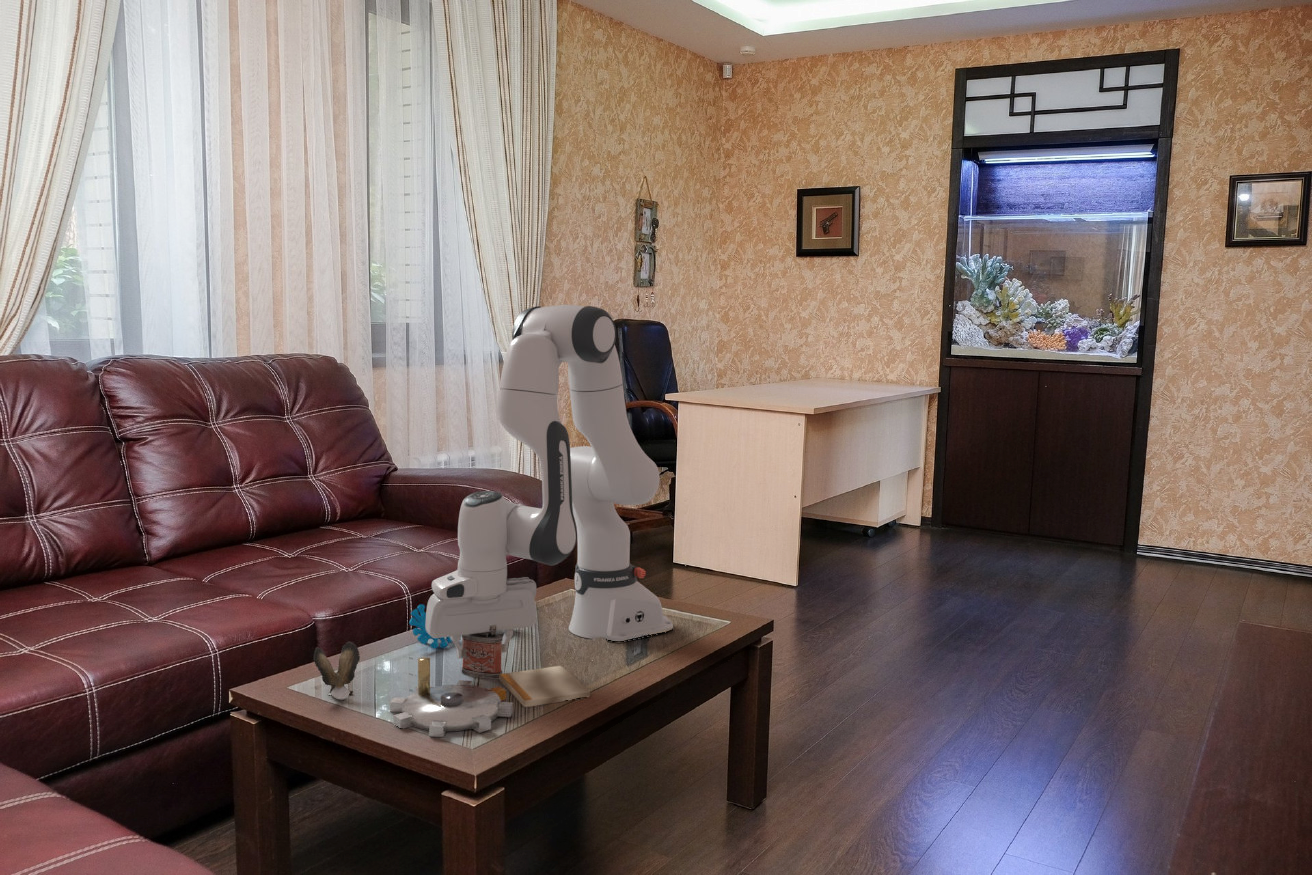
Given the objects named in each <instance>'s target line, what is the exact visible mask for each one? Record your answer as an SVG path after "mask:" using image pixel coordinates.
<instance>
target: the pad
mask: <svg viewBox="0 0 1312 875" xmlns="http://www.w3.org/2000/svg"><path fill="white" fill-rule="evenodd" d="M498 680H499V682H500V683H501V684H502V685H503V686H504V687H505V688H506V689H507V691H509V692H510V693H511V694H512V695H513V696H514V698H515V699H516V700H517V701H518V702H519V703H520V705H522V706H523V707H524V708H529V707H536V706H542V705H548V704H554V703H555V704H556V703H561V702H562V703H563V702H566V701H565V700H568V701H572V699H575V698H579V697H587V696H590V697H591V691H590V690H589V689H588V688H587V687H586V686H584V685H583V684H582V683H581V682H580V681H579V680H578V679H577V678H576V677H575V676H573V675H572V674H571V673H570V672H569V671H567V669H566V668H564V667H563V666H562V665H555V666H548V667H541V668H536V669H527V670H521V671H514V672H507V673H502V674H499V678H498ZM587 698H588V697H587ZM575 700H576V699H575Z"/></svg>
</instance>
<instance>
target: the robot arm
mask: <svg viewBox="0 0 1312 875" xmlns="http://www.w3.org/2000/svg"><path fill="white" fill-rule="evenodd" d="M511 334H512V335H511V338H512V340H511V342H510V343H509V345H508V348H507V351H506V353H505V357H504V360H503V363H502V364H503V365H502V370H501V374H500V379H499V389H498V396H497V405H496V406H497V416H498V420H499V422H500V424H501V425H502V427H503V428H504V430H505V431H506V432H507V433H508V434H509V435H510V436H512V437H513V438H514V439H515V440H517V441H519V442H521V444H524V445H525V446H527V447H528V448H529V449H531V451H533V452H534V453H535V455H536V456H537V458H538V459H539V462H540V466H541V484H542V485H541V488H542V489H541V492H542V507H533V506H527V505H523V504H517V503H514V502H512V501H509V500H507V499H506V498H504V495H503V493H501V492H499V491H494V490H484V491H475V492H473V493H471V494H469V495H467V496H465V497H464V499H463V500H462V503H461V505H460V508H459V509H460V510H459V515H458V521H457V522H458V523H457V524H458V525H457V544H458V548H459V558H458V562H457V569H456V570H455V571H452V572H450V573H447V574H445V575H442V576H439V577H437V578H435V579H434V580H432V581H431V589H432V592H433V594H432V595H430V597H429V599H428V601H427V605H426V612H425V613H426V623H425V627H426V631H427V633H428V634H429V635H430V636H431V637H432V638H442V637H444V638H446V637H450V639H451V640H452V641H451V642H452V644H453V645H454V647H455V648H456V650H455V651H456V653H455V654H456V657H457V659H459V660H460V659H463V658H466V657H467V654H466V653H467V649H466V648H465V646H463V645H460V643H459V642H460V641H461V640H462V635H467V634H475V633H484V632H490V631H489V629H490V626H493V625H496V631H500V630H502V631H503V632H504V633H505V634H503V635H502V636H503V640H502V644H501V654H505V653H507V652H508V644H509V643H510V640H511V639H512V637H513V636H514V629H515V630H516V629H525V628H532V627H534V625H535V624H536V623H537V619H538V618H537V605H536V601H535V600H536V599H535V598H536V596H537V583H536V581H534V580H533V579H531V578H529V577H528V576H526V577H525V576H522V577H518V578H517V577H513V578H508V562H507V558H506V557H507V556H508V555H509V556H512V557H517V558H520V559H521V558H522V559H526V560H532V561H534V562H537V563H541V564H544V565H547V566H556V565H558V564H560V563H562V562H563V561H564V560H566V559H567V558H568V557H569V556H570V554H572V552H573V551H574V550H575V547H576V544H577V563H576V564H575V570H574V571H575V573H574V590H575V596H574V597H575V598H574V603H573V605H574V606H573V609H572V615H571V619H570V622H569V626H568V631H569V633H571V634H573V635H575V636H577V637H581V638H585V639H591V640H594V639H601V638H603V639H604V640H605V639H607V640H606V641H608V640H612V641H623V640H627V639H632V638H634V637H640V636H642V635H648V634H650V633H656V632H659V631H664V630H667V629H670V628H673V629H674V624H673V622H672V621H671V619H669V618H668V617H667V616H665V615H664V614H663V613H664V611H663V607H662V603H661V600H660V598H659V597H657V595H656V594H655V593H653V592H651V591H650V590H649V589H648V588H646V586H644V585H643V584H641V583H640V582H639V581H638V580H637V578H639V579H644V578H645V576H646V573H647V572H646V570H645V568H641V567H640V566H639V567H638V566H635V565H633V564H631V563H630V551H631V548H630V547H631V531H630V529H629V526H628V524H627V523H626V522H625V521H624V520H623V518H621V517H620V516H619V514H618V512H617V510H616V508H615V504H616V505H621V506H622V505H623V506H635V505H644V504H648V503H649V502H650V501H651V500H653V498H654V497H655V495H656V494H657V492H658V490H659V488H660V487H659V486H660V482H661V480H660V478H661V477H660V471H659V469H658V465H657V464H656V463H655V461H653V460H652V459H651V458H650V457H649V456H648V455H647V454H646V453H645V451H644V450H643V449H642V447H641V446H640V444H639V443H638V441H637V439H636V436H635V435H634V433H633V430H632V429H631V426H630V423H629V419H628V414H627V407H626V402H625V392H624V391H625V390H624V383H623V374H622V373H623V372H622V368H621V363H620V358H619V354H618V351H617V348H616V345H615V344H616V340H617V328H616V323H615V322H614V320H613V318H612V316H611V315H610V313H609V312H608V311H607V310H605V309H603V308H600V307H597V306H592V305H586V306H583V305H578V304H577V305H576V304H560V305H549V306H548V305H547V306H539V305H538V306H532V307H529V308H526V309H523V310H522V311H521V312H519V314H518V315H517V317H516V319H515V320H514V323H513V326H512V332H511ZM562 363H567V366H568V368H567V370H568V371H567V372H568V373H567V376H568V378H567V379H568V388H569V398H570V407H571V416H572V422H573V425H574V427H575V428H576V430H577V431H578V432H579V433H581V435H582V436H584V438H586V440H587V442H588V443H589V444H590V445H589V446H588V445H583V446H582V445H580V446H573V447H571V445H570V437H569V432H568V430H567V428H566V426H565V425H564V424H563V423H562V422H561V419H560V415H559V411H558V396H559V383H560V382H559V378H560V377H559V374H560V371H559V370H560V369H559V368H560V366H561V364H562ZM612 641H611V642H612Z"/></svg>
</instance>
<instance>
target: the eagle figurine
mask: <svg viewBox="0 0 1312 875" xmlns="http://www.w3.org/2000/svg"><path fill="white" fill-rule="evenodd" d="M360 658H361V656H360V651H359V648H358V646H357V645H356V644H355V643H354V642H351V641H349V640H348V641H347V642H345V643H344V645H342V648H341V652H340V656H339V659H338V668H337V671H336V672H335V670H334V667H333V666H332V664H331V662H330V660H329V659H328V657H327V656H326V654H325V651H324V650H323V649H322V648H319V647H318V646H317V647H315V650H314V654H313V661H314V664H315V666H316V668H317V670H318V671H319V673H320V675H321V680H322V682H323V683H324V684H325V685H326V686H330V690H329V692H328V694H329V693H331V695H332V696H331V697H333V698H335V699H336V700H341V701H342V700H346V699H347V698H348V697H349V696H350V695H349V694H352V695H353V694H354V691H352V690H349V689H348V688H347V687H345V685H349V684H351V682H352V681H353V680H354V678H355V677H356V676H355V672H356V669H357V666H358V665H359V664H358V663H359V662H360Z"/></svg>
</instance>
